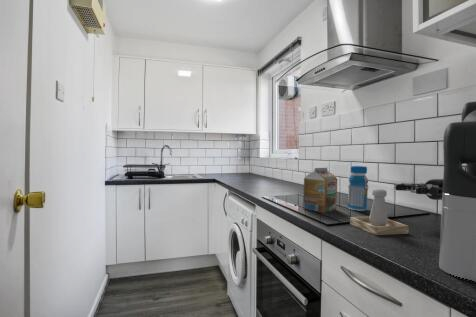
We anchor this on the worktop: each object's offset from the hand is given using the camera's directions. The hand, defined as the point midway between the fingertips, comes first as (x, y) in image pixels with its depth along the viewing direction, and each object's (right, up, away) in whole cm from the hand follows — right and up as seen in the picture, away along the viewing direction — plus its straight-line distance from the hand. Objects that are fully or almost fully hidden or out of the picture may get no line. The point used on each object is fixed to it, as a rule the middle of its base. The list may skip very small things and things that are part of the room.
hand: (406, 188), depth 90 cm
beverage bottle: (-4, -13, +28) cm, 31 cm away
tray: (-11, -13, -2) cm, 17 cm away
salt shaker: (-11, -13, -2) cm, 17 cm away
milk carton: (-22, -13, +27) cm, 37 cm away
